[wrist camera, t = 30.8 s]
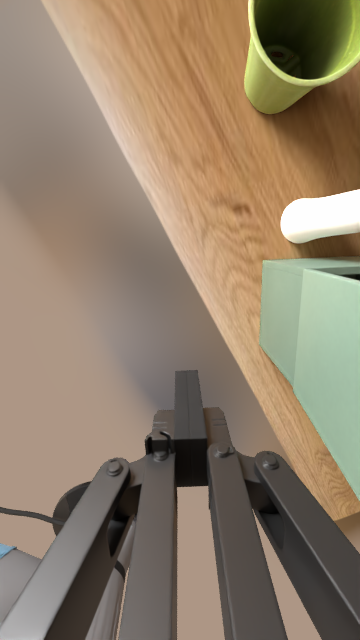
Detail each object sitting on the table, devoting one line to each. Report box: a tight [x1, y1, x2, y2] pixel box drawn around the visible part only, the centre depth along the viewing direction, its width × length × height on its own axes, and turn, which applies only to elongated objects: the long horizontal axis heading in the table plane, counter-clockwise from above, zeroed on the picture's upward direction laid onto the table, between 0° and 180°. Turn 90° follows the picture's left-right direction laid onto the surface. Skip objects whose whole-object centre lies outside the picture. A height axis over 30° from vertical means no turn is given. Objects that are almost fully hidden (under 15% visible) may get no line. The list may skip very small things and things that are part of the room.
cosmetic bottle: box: [281, 190, 360, 243], centre depth 27 cm, size 6×6×22 cm
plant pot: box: [244, 0, 360, 114], centre depth 28 cm, size 12×12×11 cm
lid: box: [293, 269, 360, 501], centre depth 20 cm, size 15×14×1 cm
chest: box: [259, 256, 360, 386], centre depth 35 cm, size 15×14×14 cm
